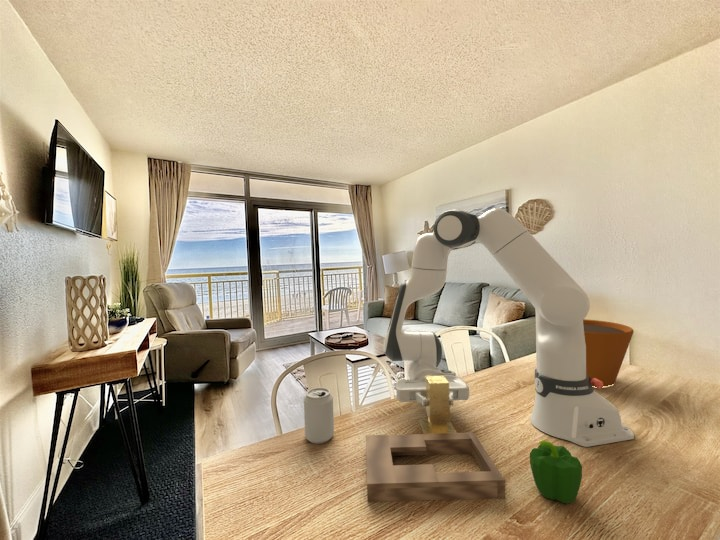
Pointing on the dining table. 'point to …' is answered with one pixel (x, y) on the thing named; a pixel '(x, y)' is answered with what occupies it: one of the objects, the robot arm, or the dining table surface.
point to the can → (318, 415)
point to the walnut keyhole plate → (428, 469)
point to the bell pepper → (556, 472)
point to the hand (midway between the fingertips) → (438, 403)
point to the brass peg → (437, 407)
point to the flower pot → (605, 349)
